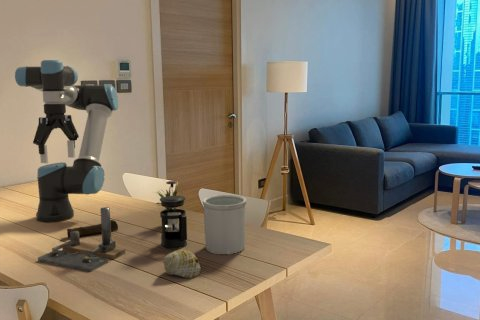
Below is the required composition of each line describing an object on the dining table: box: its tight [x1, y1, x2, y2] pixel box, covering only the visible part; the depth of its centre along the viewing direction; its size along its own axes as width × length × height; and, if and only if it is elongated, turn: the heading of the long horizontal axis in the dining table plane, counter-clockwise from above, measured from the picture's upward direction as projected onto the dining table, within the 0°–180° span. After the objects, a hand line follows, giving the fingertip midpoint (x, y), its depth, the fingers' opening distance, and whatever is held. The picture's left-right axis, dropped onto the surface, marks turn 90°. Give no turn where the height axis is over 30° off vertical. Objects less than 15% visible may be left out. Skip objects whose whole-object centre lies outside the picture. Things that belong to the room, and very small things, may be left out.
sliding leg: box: [84, 206, 117, 260], centre depth 159 cm, size 13×3×14 cm, turn 156°
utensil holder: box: [202, 193, 247, 255], centre depth 168 cm, size 15×15×18 cm
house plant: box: [154, 185, 187, 224], centre depth 194 cm, size 14×14×16 cm
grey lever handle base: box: [51, 231, 126, 260], centre depth 163 cm, size 14×22×6 cm, turn 66°
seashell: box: [163, 249, 202, 279], centre depth 147 cm, size 10×10×10 cm
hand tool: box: [66, 219, 119, 240], centre depth 185 cm, size 19×4×5 cm, turn 119°
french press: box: [159, 180, 188, 250], centre depth 171 cm, size 12×9×23 cm
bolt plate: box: [37, 249, 109, 272], centre depth 158 cm, size 8×22×1 cm, turn 66°
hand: (58, 160), depth 181 cm, fingers open, 13 cm apart
